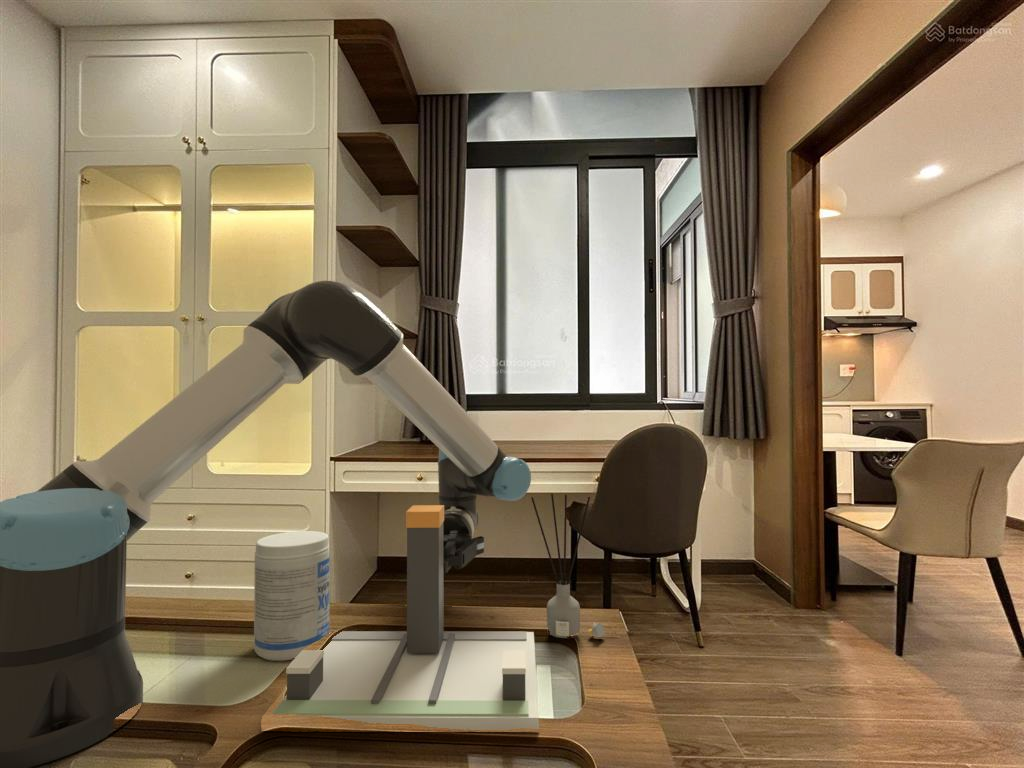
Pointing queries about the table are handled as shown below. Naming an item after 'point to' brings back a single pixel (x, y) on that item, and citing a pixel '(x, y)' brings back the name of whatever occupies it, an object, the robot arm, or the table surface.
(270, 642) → the supplement tub
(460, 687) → the panel
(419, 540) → the handle
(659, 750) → the table surface
